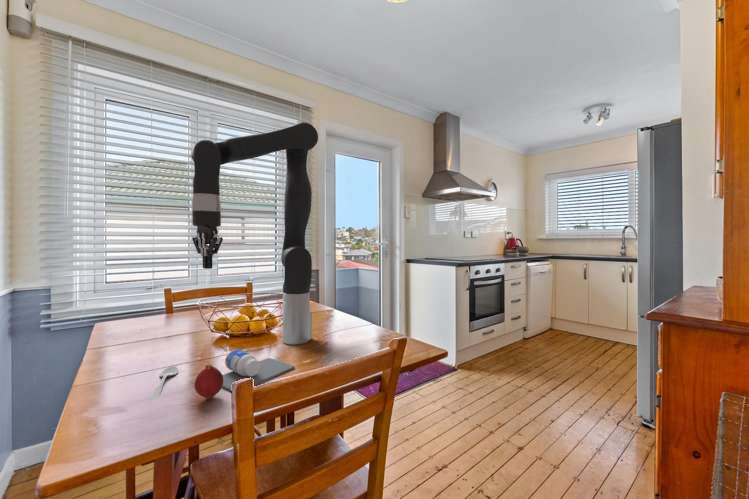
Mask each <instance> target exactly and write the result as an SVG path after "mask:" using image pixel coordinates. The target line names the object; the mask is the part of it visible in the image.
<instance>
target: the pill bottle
mask: <svg viewBox="0 0 749 499" xmlns="http://www.w3.org/2000/svg"><path fill="white" fill-rule="evenodd" d="M259 361H260V360H259ZM259 361H258V360H257V358H256V357H255V356H254V355H253V354H251V353H250V352H249V353H248V352H246V351H245V350H242V349H238V348H237V349H233V350H231V351H229V352H228V354H227V355H226V357H225V359H224V364H225V367H226V368H227V369H228V370H230V371H231V372H232V371H234V372H236V373H238V374H240V375H242V376H254V375H256V374H257V373H258V372H259V370H260V363H259Z"/></svg>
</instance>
